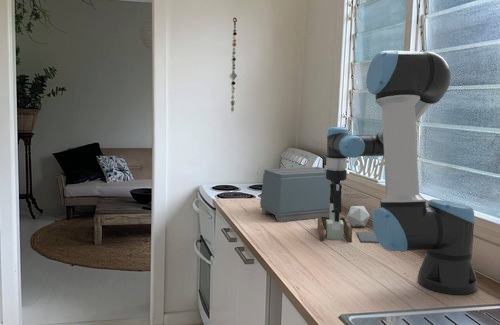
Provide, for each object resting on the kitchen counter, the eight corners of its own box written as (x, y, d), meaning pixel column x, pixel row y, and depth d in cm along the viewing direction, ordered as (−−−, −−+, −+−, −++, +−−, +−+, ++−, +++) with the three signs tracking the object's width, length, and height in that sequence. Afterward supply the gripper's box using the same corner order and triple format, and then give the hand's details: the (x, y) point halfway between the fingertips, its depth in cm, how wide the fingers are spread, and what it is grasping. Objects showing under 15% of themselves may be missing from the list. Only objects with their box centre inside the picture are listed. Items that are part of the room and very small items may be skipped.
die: (364, 231, 186) (376, 210, 188) (344, 219, 187) (356, 198, 189) (359, 233, 194) (370, 213, 197) (340, 222, 195) (351, 202, 198)
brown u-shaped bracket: (351, 242, 169) (352, 228, 168) (320, 241, 170) (320, 227, 169) (346, 229, 187) (346, 216, 186) (317, 228, 188) (317, 216, 187)
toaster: (347, 216, 210) (348, 171, 207) (278, 223, 196) (279, 175, 193) (324, 207, 227) (325, 165, 225) (259, 213, 213) (260, 169, 211)
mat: (394, 243, 168) (395, 241, 168) (361, 242, 169) (361, 240, 169) (388, 234, 180) (388, 232, 179) (356, 233, 181) (356, 231, 181)
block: (343, 239, 172) (343, 223, 172) (326, 239, 173) (327, 223, 172) (341, 235, 178) (342, 220, 177) (325, 234, 179) (326, 219, 178)
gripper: (350, 174, 160) (348, 234, 163) (343, 164, 184) (341, 216, 187) (328, 174, 160) (326, 233, 163) (324, 164, 185) (322, 216, 188)
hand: (334, 224), depth 175 cm, fingers open, 13 cm apart
